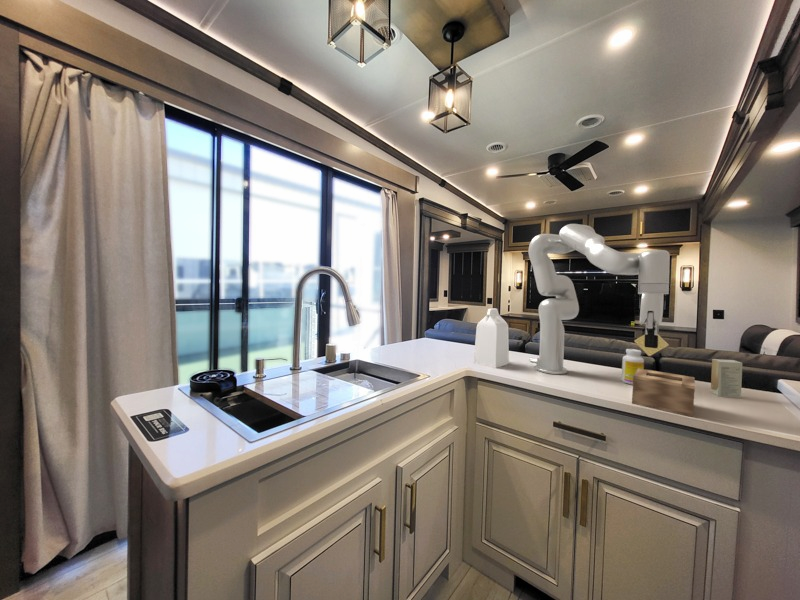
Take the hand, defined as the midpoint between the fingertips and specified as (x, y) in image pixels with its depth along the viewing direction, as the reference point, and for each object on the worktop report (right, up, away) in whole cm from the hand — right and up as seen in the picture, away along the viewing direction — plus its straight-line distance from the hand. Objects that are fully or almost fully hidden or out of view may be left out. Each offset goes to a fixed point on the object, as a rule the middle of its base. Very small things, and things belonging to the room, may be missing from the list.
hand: (651, 346), depth 98 cm
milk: (-37, -15, +47) cm, 62 cm away
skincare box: (+32, -18, +8) cm, 38 cm away
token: (-2, -1, +2) cm, 3 cm away
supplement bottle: (+9, -17, +20) cm, 28 cm away
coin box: (+2, -18, -1) cm, 18 cm away
